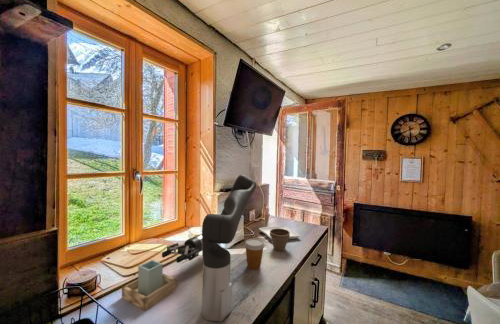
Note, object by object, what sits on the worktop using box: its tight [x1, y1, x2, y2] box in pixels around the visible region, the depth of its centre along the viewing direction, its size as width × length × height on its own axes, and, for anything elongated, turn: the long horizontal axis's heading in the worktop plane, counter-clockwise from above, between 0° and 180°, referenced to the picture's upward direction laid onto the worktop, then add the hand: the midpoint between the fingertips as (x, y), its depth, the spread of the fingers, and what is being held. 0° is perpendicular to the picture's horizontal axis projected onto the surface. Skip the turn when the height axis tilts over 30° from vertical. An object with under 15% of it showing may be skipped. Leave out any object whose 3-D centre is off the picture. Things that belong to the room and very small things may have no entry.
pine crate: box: [121, 273, 178, 311], centre depth 84 cm, size 13×14×4 cm
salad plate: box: [258, 225, 301, 241], centre depth 150 cm, size 21×21×3 cm
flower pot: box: [270, 229, 290, 252], centre depth 128 cm, size 12×11×10 cm
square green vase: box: [137, 259, 164, 296], centre depth 84 cm, size 6×6×10 cm
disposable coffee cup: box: [244, 238, 265, 271], centre depth 107 cm, size 10×10×12 cm
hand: (169, 257), depth 92 cm, fingers open, 8 cm apart
